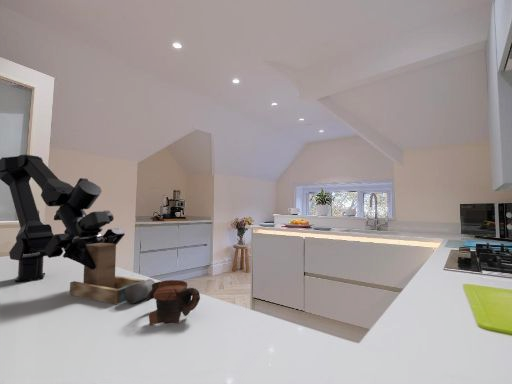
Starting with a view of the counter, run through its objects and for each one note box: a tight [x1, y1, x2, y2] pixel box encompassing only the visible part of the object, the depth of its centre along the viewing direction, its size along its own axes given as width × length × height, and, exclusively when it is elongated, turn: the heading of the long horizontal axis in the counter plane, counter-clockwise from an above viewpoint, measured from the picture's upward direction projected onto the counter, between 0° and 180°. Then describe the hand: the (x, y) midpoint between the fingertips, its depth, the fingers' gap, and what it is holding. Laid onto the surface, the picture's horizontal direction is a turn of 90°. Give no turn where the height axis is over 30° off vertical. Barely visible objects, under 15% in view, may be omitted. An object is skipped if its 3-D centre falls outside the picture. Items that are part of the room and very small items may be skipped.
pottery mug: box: [146, 279, 201, 325], centre depth 56 cm, size 12×10×8 cm
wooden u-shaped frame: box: [69, 275, 156, 305], centre depth 68 cm, size 20×9×4 cm, turn 68°
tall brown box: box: [83, 243, 117, 288], centre depth 71 cm, size 5×5×12 cm
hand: (103, 266), depth 70 cm, fingers closed on tall brown box, 5 cm apart
